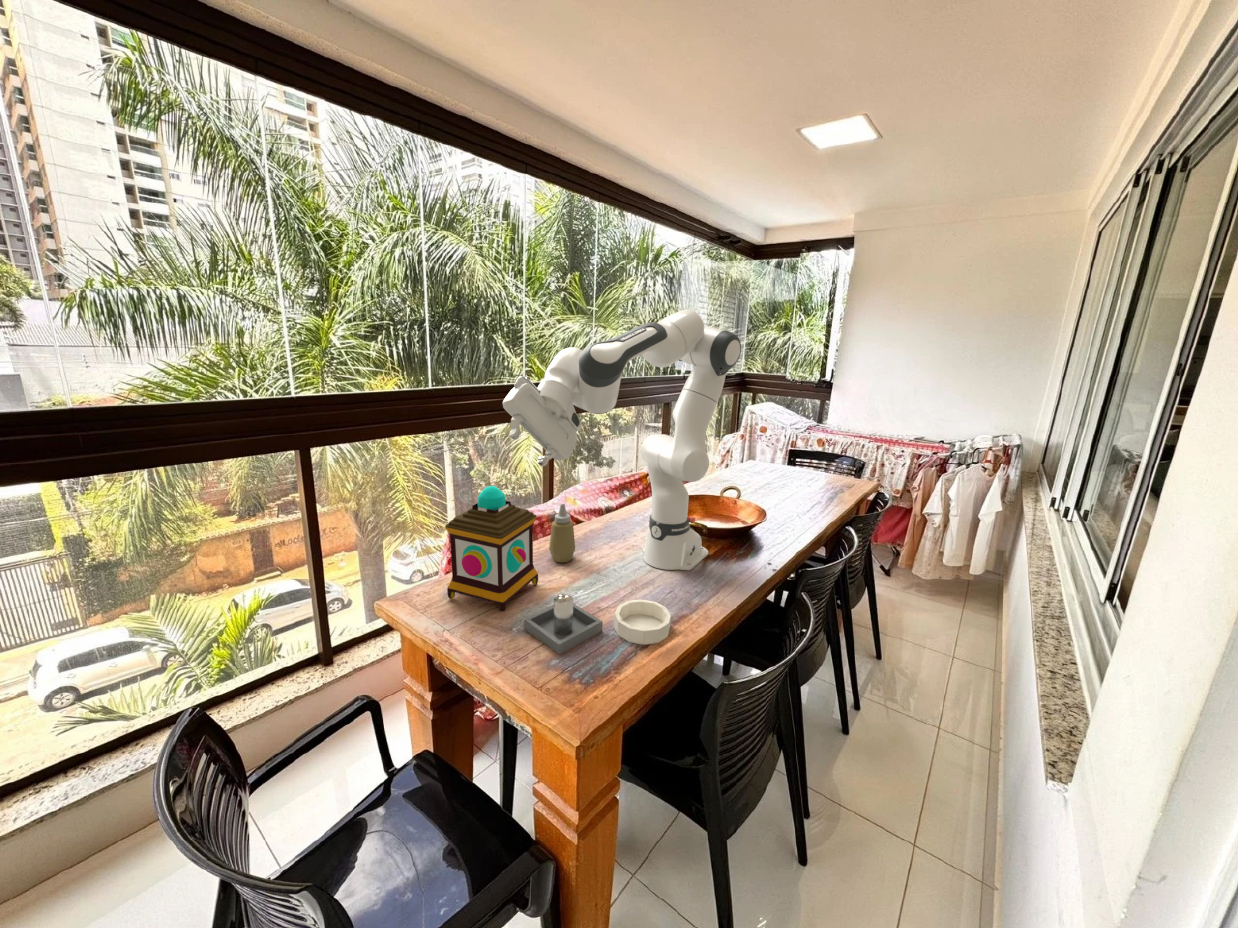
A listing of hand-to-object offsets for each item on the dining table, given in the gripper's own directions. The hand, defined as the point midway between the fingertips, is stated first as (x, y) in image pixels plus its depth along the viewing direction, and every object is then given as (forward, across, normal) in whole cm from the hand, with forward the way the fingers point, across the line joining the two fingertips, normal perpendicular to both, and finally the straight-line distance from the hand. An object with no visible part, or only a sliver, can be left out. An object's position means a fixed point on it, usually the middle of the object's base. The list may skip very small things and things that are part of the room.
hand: (527, 451), depth 107 cm
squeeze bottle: (0, +50, +30) cm, 58 cm away
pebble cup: (+26, +35, +5) cm, 44 cm away
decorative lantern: (+19, +32, +31) cm, 49 cm away
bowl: (+20, +47, -8) cm, 51 cm away
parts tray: (+26, +35, +6) cm, 45 cm away
